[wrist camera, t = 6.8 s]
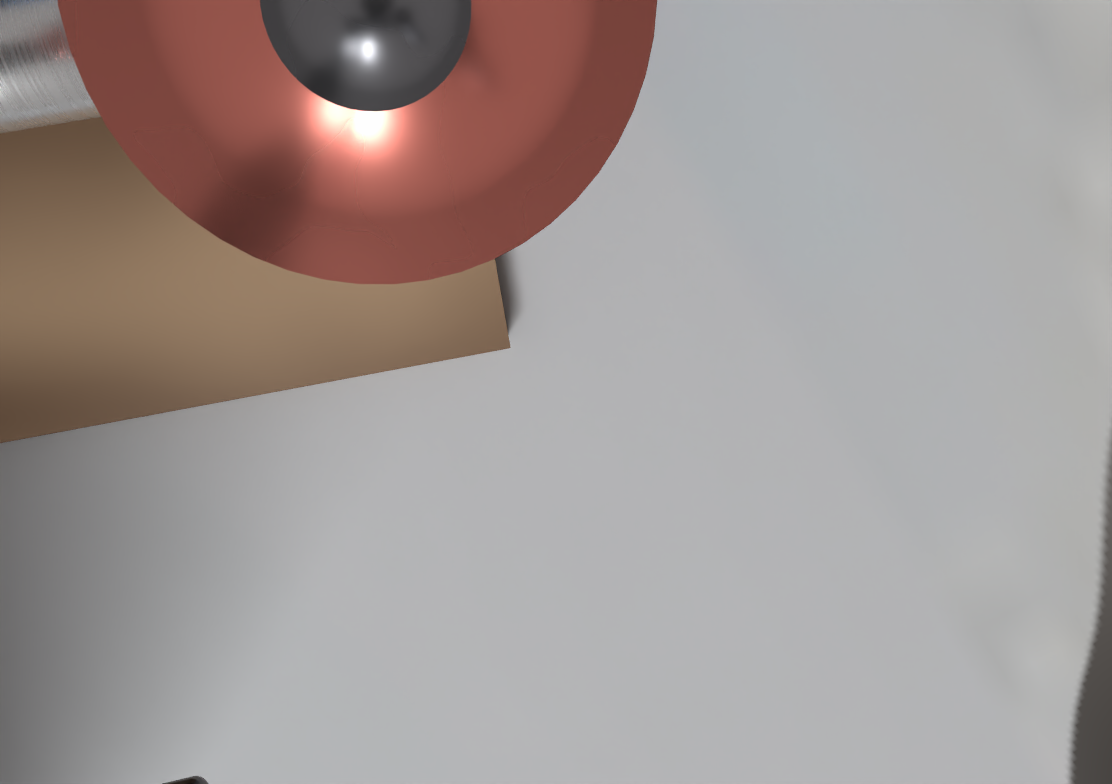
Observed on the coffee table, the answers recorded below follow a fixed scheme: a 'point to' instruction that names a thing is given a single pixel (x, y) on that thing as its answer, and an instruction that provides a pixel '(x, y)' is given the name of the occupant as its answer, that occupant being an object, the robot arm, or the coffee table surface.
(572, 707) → the coffee table surface
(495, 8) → the silver and red piece
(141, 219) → the walnut board
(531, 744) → the coffee table surface
